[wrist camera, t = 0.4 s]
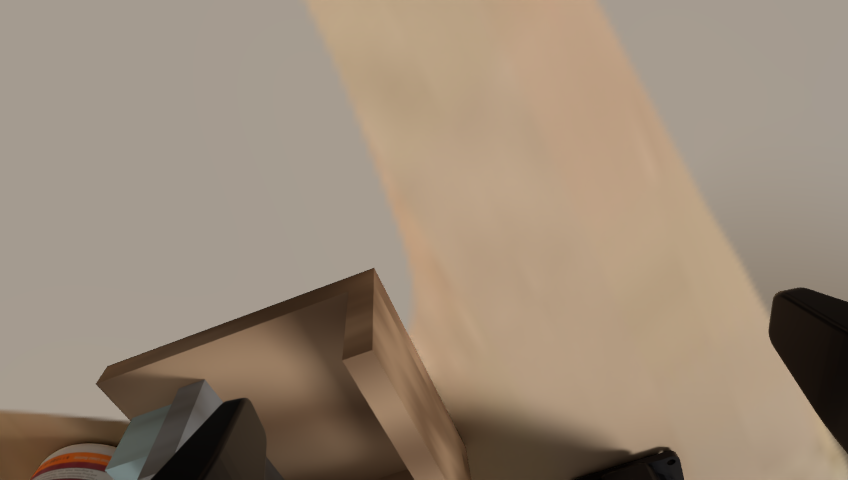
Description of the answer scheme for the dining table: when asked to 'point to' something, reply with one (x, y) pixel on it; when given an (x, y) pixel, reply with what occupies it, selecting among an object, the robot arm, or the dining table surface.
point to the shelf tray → (296, 391)
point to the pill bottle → (77, 463)
